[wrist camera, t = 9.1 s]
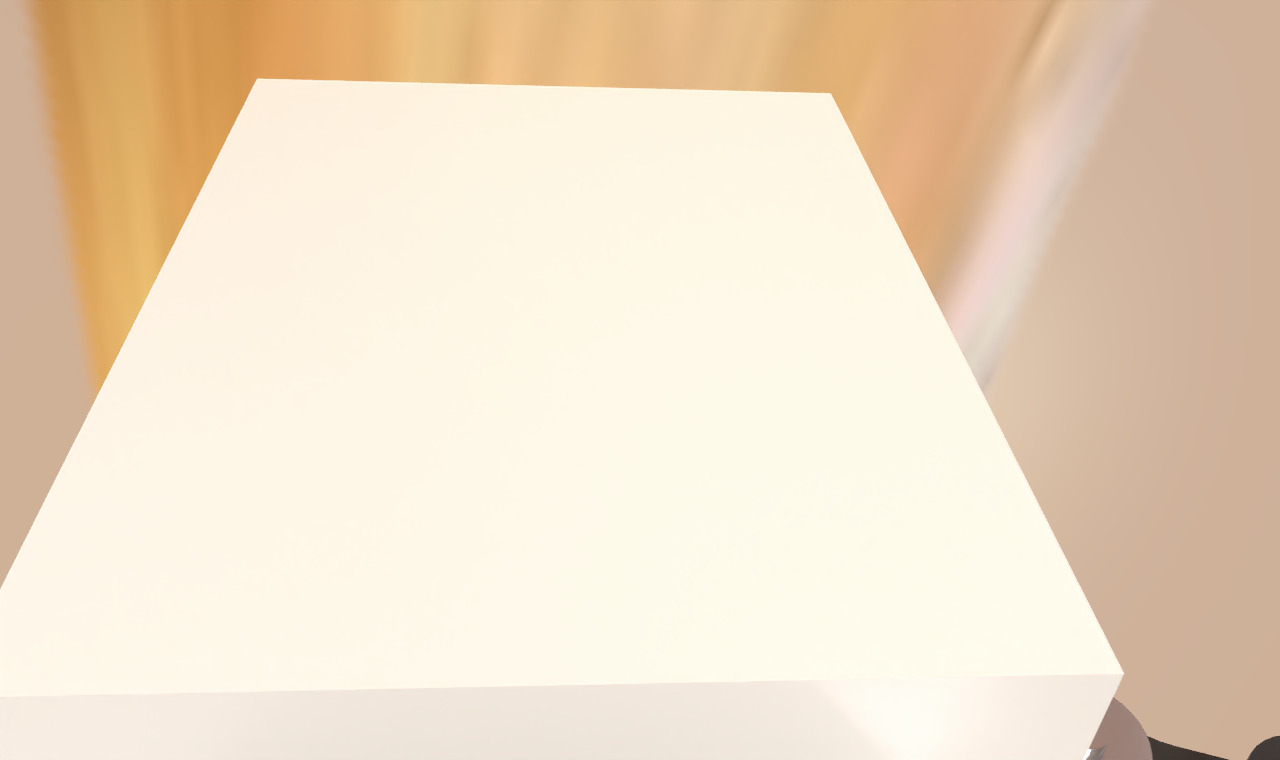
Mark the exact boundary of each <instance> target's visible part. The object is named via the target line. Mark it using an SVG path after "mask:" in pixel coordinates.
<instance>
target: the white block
mask: <svg viewBox="0 0 1280 760" xmlns="http://www.w3.org/2000/svg"><path fill="white" fill-rule="evenodd" d="M1123 675H1124V673H1123V671H1122V669H1121V667H1120V665H1119V663H1118V661H1117V659H1116V657H1115V655H1114V653H1113V651H1112V649H1111V647H1110V645H1109V643H1108V641H1107V639H1106V637H1105V635H1104V633H1103V631H1102V629H1101V627H1100V625H1099V623H1098V621H1097V620H1096V618H1095V615H1094V613H1093V611H1092V609H1091V607H1090V605H1089V603H1088V601H1087V599H1086V597H1085V595H1084V594H1083V591H1082V589H1081V588H1080V586H1079V584H1078V582H1077V580H1076V578H1075V576H1074V574H1073V572H1072V570H1071V568H1070V566H1069V564H1068V562H1067V560H1066V558H1065V556H1064V554H1063V552H1062V550H1061V548H1060V546H1059V544H1058V542H1057V540H1056V538H1055V536H1054V534H1053V532H1052V530H1051V528H1050V526H1049V524H1048V522H1047V520H1046V518H1045V516H1044V515H1043V512H1042V511H1041V508H1040V506H1039V504H1038V502H1037V500H1036V498H1035V497H1034V494H1033V493H1032V491H1031V489H1030V487H1029V485H1028V483H1027V481H1026V479H1025V477H1024V475H1023V473H1022V471H1021V469H1020V467H1019V465H1018V463H1017V461H1016V459H1015V457H1014V455H1013V453H1012V451H1011V449H1010V447H1009V445H1008V443H1007V441H1006V439H1005V437H1004V435H1003V433H1002V431H1001V429H1000V427H999V425H998V423H997V421H996V419H995V418H994V415H993V413H992V411H991V409H990V407H989V405H988V403H987V402H986V400H985V398H984V396H983V394H982V392H981V390H980V388H979V386H978V384H977V382H976V380H975V378H974V376H973V374H972V372H971V370H970V368H969V366H968V364H967V362H966V360H965V358H964V356H963V354H962V352H961V350H960V348H959V346H958V344H957V342H956V340H955V338H954V336H953V334H952V332H951V330H950V328H949V326H948V324H947V322H946V320H945V318H944V316H943V314H942V312H941V311H940V309H939V307H938V305H937V303H936V301H935V299H934V297H933V295H932V293H931V291H930V289H929V287H928V285H927V283H926V281H925V279H924V277H923V275H922V273H921V271H920V269H919V267H918V265H917V263H916V261H915V259H914V257H913V255H912V253H911V251H910V249H909V247H908V245H907V243H906V241H905V239H904V237H903V235H902V233H901V231H900V229H899V227H898V225H897V223H896V221H895V219H894V218H893V216H892V214H891V212H890V210H889V208H888V206H887V204H886V202H885V200H884V198H883V196H882V194H881V192H880V190H879V188H878V186H877V184H876V182H875V180H874V178H873V176H872V174H871V172H870V170H869V168H868V166H867V164H866V162H865V160H864V158H863V156H862V154H861V152H860V150H859V148H858V146H857V144H856V142H855V140H854V138H853V136H852V134H851V132H850V130H849V128H848V127H847V125H846V123H845V121H844V119H843V117H842V115H841V113H840V111H839V109H838V107H837V105H836V103H835V101H834V99H833V97H832V95H831V93H797V92H758V91H719V90H680V89H641V88H602V87H563V86H525V85H486V84H447V83H408V82H369V81H330V80H291V79H257V80H256V82H255V84H254V86H253V88H252V90H251V92H250V94H249V96H248V98H247V100H246V102H245V104H244V106H243V108H242V110H241V112H240V114H239V116H238V118H237V120H236V122H235V124H234V126H233V128H232V130H231V132H230V134H229V136H228V138H227V140H226V142H225V144H224V146H223V148H222V150H221V152H220V154H219V156H218V158H217V160H216V162H215V163H214V165H213V167H212V169H211V171H210V173H209V175H208V177H207V179H206V181H205V183H204V185H203V187H202V189H201V191H200V193H199V195H198V197H197V199H196V201H195V203H194V205H193V207H192V209H191V211H190V213H189V215H188V217H187V219H186V221H185V223H184V225H183V227H182V229H181V231H180V233H179V235H178V237H177V239H176V241H175V243H174V245H173V247H172V249H171V251H170V253H169V255H168V257H167V259H166V261H165V263H164V265H163V267H162V269H161V271H160V273H159V275H158V277H157V279H156V281H155V283H154V285H153V287H152V289H151V291H150V293H149V295H148V297H147V299H146V301H145V303H144V305H143V307H142V309H141V311H140V313H139V315H138V317H137V318H136V320H135V322H134V324H133V326H132V328H131V330H130V332H129V334H128V336H127V338H126V340H125V342H124V344H123V346H122V348H121V350H120V352H119V354H118V356H117V358H116V360H115V362H114V364H113V366H112V368H111V370H110V372H109V374H108V376H107V378H106V380H105V382H104V384H103V386H102V388H101V390H100V392H99V394H98V396H97V398H96V400H95V402H94V404H93V406H92V408H91V410H90V412H89V414H88V416H87V418H86V420H85V422H84V424H83V426H82V428H81V430H80V432H79V434H78V436H77V438H76V440H75V442H74V444H73V446H72V448H71V450H70V452H69V454H68V456H67V458H66V460H65V462H64V464H63V466H62V468H61V470H60V472H59V474H58V476H57V477H56V479H55V481H54V483H53V486H52V488H51V489H50V492H49V494H48V495H47V497H46V499H45V501H44V503H43V505H42V507H41V509H40V511H39V513H38V515H37V517H36V519H35V521H34V524H33V525H32V527H31V529H30V531H29V533H28V535H27V537H26V539H25V541H24V543H23V545H22V547H21V549H20V551H19V553H18V555H17V557H16V559H15V561H14V563H13V565H12V567H11V569H10V571H9V573H8V575H7V577H6V579H5V581H4V583H3V585H2V587H1V589H0V760H1084V758H1085V756H1086V753H1087V751H1088V749H1089V747H1090V745H1091V743H1092V741H1093V739H1094V736H1095V734H1096V732H1097V730H1098V728H1099V726H1100V724H1101V722H1102V719H1103V717H1104V715H1105V713H1106V711H1107V709H1108V707H1109V705H1110V702H1111V700H1112V698H1113V696H1114V694H1115V692H1116V690H1117V688H1118V685H1119V683H1120V681H1121V679H1122V677H1123Z"/></svg>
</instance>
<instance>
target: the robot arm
mask: <svg viewBox="0 0 1280 760" xmlns="http://www.w3.org/2000/svg"><path fill="white" fill-rule="evenodd" d="M1084 760H1228V759H1224V758H1219V757H1216V756H1212V755H1208V754H1204V753H1200V752H1196V751H1192V750H1188V749H1184V748H1180V747H1176V746H1173V745H1170V744H1167V743H1163V742H1160V741H1158V740H1155V739H1153V738H1151V737H1148V736H1147V735H1146V733H1145V731H1144V729H1143V728H1142V726H1141V724H1140V723H1139V722H1138V720H1137V719H1136V718H1135V717H1134V715H1133V714H1132V713H1131V712H1130V711H1129V710H1128V709H1127V708H1126V707H1125V706H1124V705H1123V704H1122V703H1120V702H1119V701H1118V700H1116V699H1115V698H1114V697H1113V698H1112V700H1111V702H1110V705H1109V707H1108V709H1107V711H1106V713H1105V715H1104V717H1103V719H1102V722H1101V724H1100V726H1099V728H1098V730H1097V732H1096V734H1095V736H1094V739H1093V741H1092V743H1091V745H1090V747H1089V749H1088V751H1087V753H1086V756H1085V758H1084ZM1247 760H1280V736H1276V737H1272V738H1270V739H1267V740H1265V741H1263V742H1262V743H1260V744H1259V745H1257V746H1256V748H1255V749H1254V750H1253V751H1252V753H1251V754H1250V756H1249V757H1248V759H1247Z"/></svg>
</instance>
